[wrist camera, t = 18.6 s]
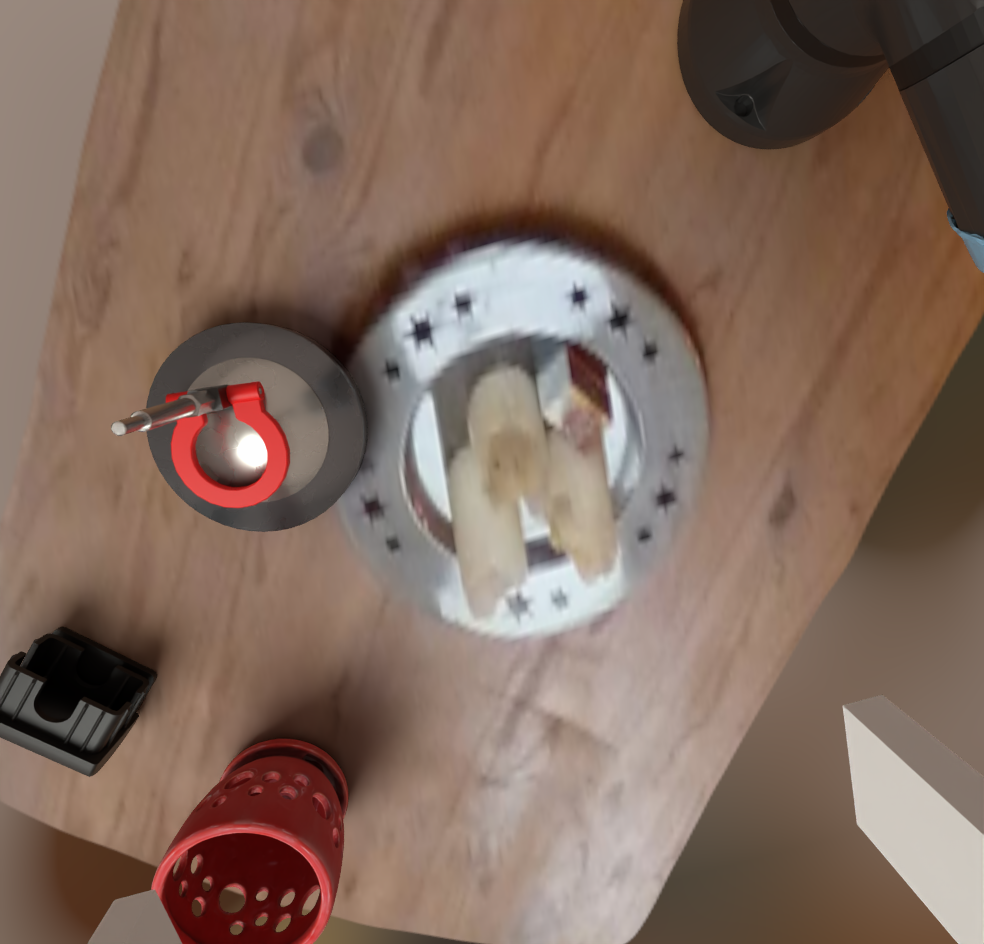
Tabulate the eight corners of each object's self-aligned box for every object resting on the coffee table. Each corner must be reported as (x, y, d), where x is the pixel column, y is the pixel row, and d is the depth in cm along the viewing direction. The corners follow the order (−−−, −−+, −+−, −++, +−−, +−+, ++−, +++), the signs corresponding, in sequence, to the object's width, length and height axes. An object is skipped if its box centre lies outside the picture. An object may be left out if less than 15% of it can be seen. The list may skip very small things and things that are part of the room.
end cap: (20, 685, 48) (-50, 739, 41) (54, 621, 47) (-11, 665, 40) (129, 735, 50) (79, 795, 43) (165, 675, 49) (119, 726, 42)
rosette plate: (332, 301, 43) (323, 297, 40) (391, 494, 46) (387, 503, 44) (130, 353, 43) (108, 353, 40) (206, 543, 46) (190, 555, 43)
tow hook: (302, 495, 43) (274, 377, 41) (241, 565, 31) (195, 401, 28) (195, 510, 43) (160, 393, 41) (90, 587, 31) (30, 425, 28)
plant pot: (380, 813, 53) (358, 944, 41) (250, 854, 53) (192, 997, 41) (330, 700, 50) (292, 807, 38) (193, 744, 50) (113, 864, 38)
